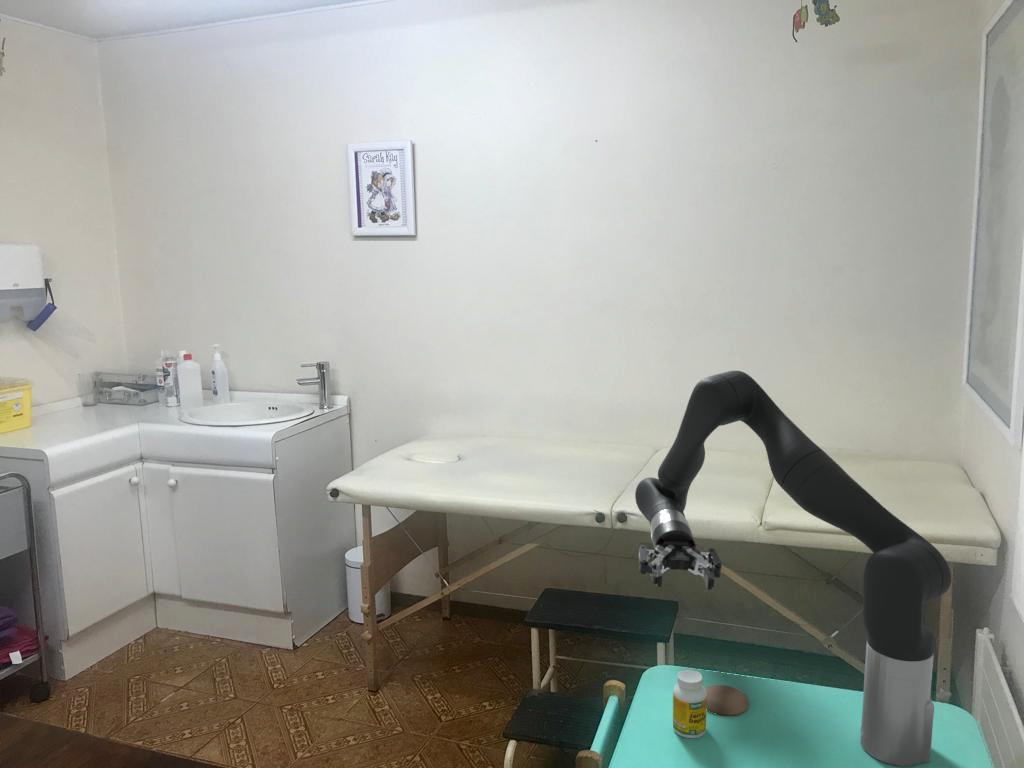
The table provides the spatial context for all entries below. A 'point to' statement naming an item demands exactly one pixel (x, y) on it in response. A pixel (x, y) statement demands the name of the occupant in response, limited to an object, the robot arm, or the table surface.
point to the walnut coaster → (726, 700)
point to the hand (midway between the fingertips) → (684, 583)
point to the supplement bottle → (689, 704)
